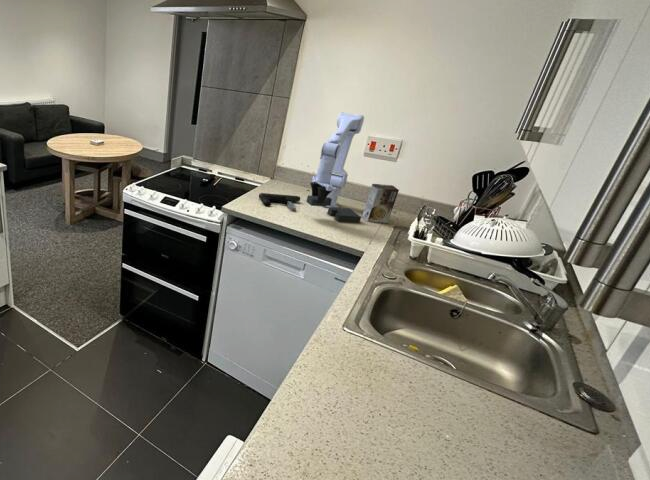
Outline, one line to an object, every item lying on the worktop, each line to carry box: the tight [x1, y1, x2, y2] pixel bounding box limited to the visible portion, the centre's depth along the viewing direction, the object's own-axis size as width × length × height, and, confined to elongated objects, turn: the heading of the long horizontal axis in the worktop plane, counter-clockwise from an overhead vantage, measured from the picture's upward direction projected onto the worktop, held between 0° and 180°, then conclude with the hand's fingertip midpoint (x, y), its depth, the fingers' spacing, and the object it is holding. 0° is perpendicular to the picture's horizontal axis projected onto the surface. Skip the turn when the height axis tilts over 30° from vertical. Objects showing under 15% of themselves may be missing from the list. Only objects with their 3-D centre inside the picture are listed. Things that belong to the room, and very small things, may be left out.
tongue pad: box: [305, 195, 332, 208], centre depth 171 cm, size 5×9×3 cm, turn 92°
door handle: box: [258, 192, 301, 212], centre depth 188 cm, size 3×20×16 cm
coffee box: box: [361, 183, 400, 224], centre depth 176 cm, size 9×6×16 cm
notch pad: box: [326, 207, 362, 224], centre depth 177 cm, size 10×10×3 cm
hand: (317, 201), depth 172 cm, fingers closed on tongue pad, 5 cm apart
